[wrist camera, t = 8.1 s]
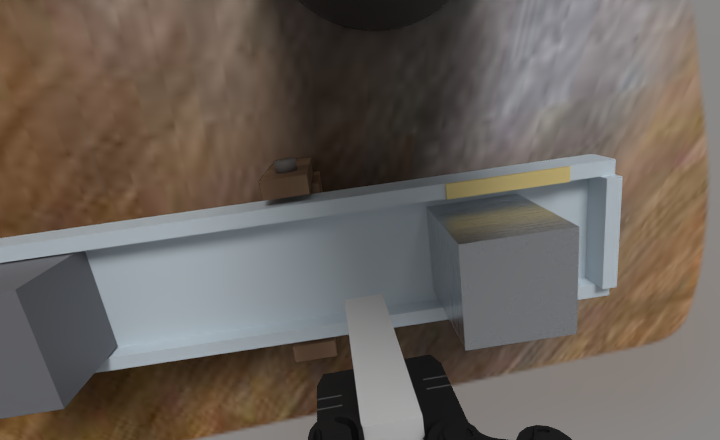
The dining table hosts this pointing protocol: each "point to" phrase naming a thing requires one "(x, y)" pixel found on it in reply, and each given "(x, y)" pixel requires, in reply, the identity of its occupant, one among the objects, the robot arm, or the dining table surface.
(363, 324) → the robot arm
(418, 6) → the vase
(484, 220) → the block
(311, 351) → the fulcrum
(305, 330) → the beam
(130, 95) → the dining table surface
